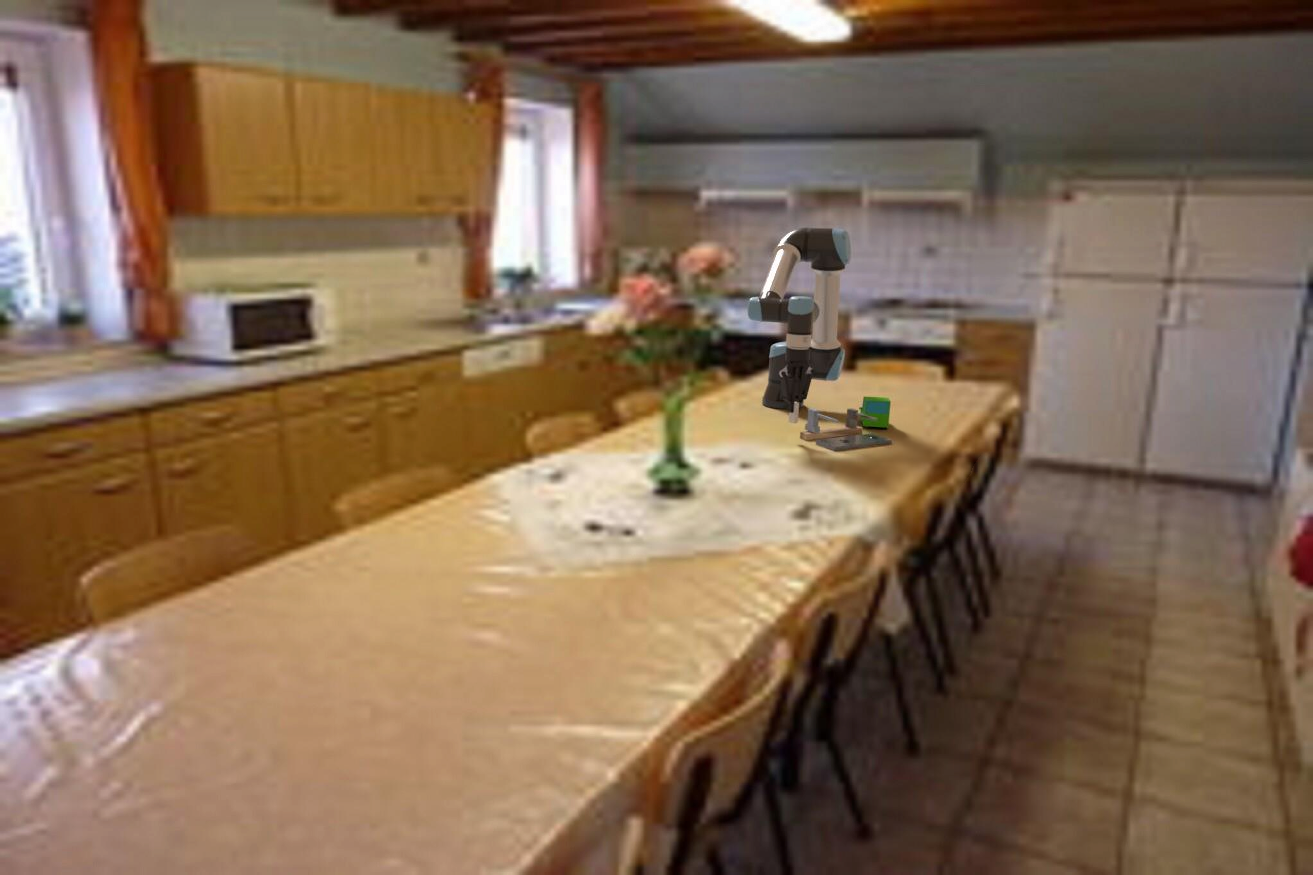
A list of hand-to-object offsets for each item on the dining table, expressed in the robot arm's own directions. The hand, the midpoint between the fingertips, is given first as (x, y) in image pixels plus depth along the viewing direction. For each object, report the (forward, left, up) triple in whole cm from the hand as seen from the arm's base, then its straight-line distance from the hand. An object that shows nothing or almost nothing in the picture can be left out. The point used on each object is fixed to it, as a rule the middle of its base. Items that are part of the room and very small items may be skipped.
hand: (793, 422), depth 295 cm
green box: (-6, +39, -6) cm, 40 cm away
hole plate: (+11, +16, -6) cm, 20 cm away
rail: (+5, +16, -6) cm, 18 cm away
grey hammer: (+4, +8, -4) cm, 10 cm away
